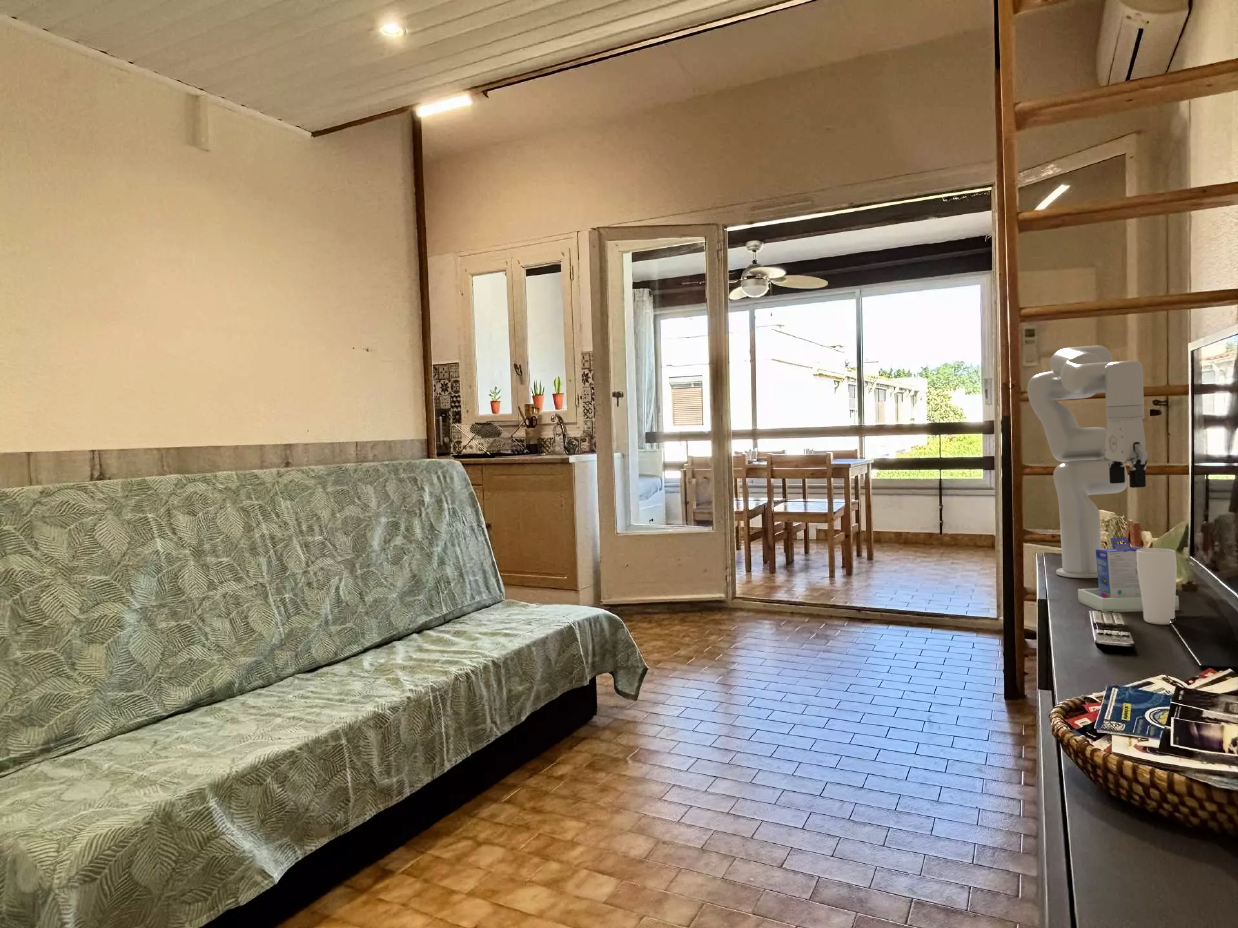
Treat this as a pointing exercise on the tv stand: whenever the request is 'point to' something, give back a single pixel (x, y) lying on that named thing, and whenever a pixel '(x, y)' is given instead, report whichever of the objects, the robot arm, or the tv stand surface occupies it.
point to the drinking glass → (1157, 584)
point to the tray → (1112, 601)
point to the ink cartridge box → (1118, 570)
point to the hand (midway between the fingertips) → (1127, 485)
